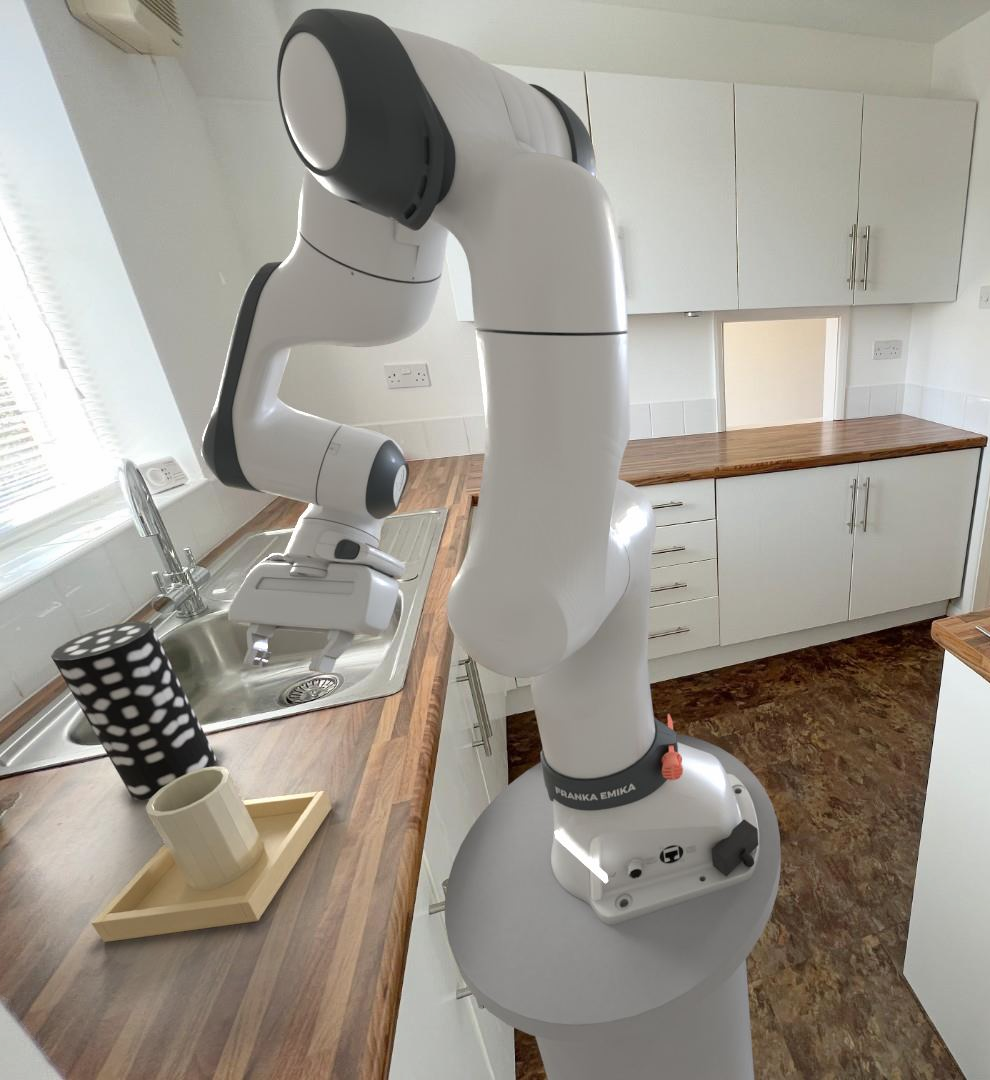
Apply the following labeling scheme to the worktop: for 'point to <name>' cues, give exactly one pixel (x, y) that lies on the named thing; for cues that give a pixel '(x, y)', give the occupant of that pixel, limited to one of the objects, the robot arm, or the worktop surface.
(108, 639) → the spotted tube
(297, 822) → the tray
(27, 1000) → the worktop surface
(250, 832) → the cup
